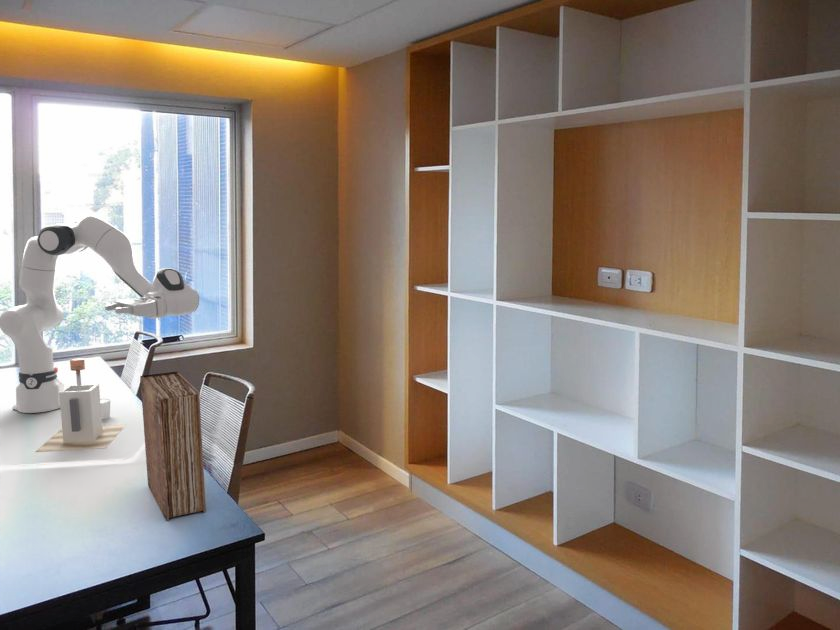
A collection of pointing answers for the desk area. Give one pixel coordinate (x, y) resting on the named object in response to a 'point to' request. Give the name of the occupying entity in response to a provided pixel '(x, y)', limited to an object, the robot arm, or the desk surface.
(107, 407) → the shot glass
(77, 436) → the slotted white box
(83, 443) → the oak board
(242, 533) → the desk surface
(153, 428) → the book
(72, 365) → the plunger
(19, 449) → the desk surface
